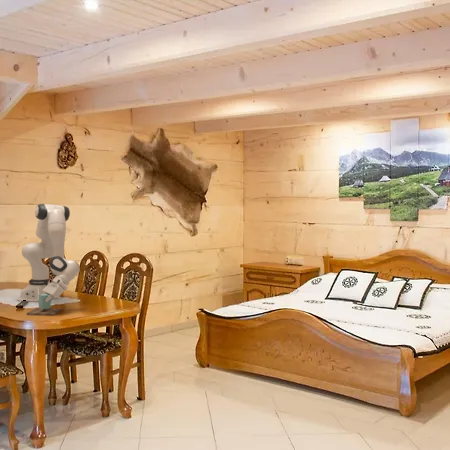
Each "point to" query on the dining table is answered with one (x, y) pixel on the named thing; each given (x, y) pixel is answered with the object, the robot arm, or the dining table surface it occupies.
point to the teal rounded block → (42, 302)
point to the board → (44, 311)
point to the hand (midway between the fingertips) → (43, 300)
